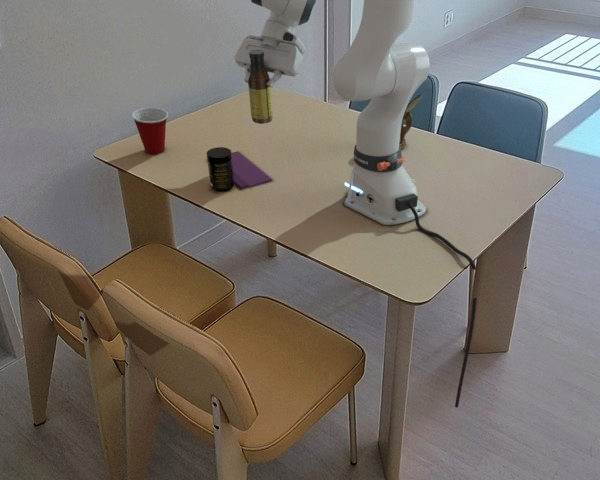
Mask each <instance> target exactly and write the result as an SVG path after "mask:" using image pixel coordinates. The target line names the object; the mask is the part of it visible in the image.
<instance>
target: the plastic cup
mask: <svg viewBox="0 0 600 480" xmlns="http://www.w3.org/2000/svg"><path fill="white" fill-rule="evenodd" d="M131 117H132V119H133V121H134V123H135V126H136V129H137V131H138V134H139V137H140V141H141V143H142V145H143V148H144V151H145V152H146V154H149V155H159V154H162V153H164V151H165V148H166V129H167V128H166V127H167V120H168V118H169V113H168V111H167V110H165V109H163V108H159V107H141V108H138V109H136V110H134V111H133V112H132V113H131Z"/></svg>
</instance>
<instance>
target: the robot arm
mask: <svg viewBox="0 0 600 480" xmlns="http://www.w3.org/2000/svg"><path fill="white" fill-rule="evenodd" d="M250 2H251V3H253V4H254V5H257V6H260V7H262V8H265V9H267V10H269V12H270V13H269V16H268V18H267V19H266V20H265V22H264V25H263V28H262V31H261V32H260V35H252V34H250V35H248V36H246V37H244V38H243V39H242V42H241V43H240V45H239V47H238V49H237V50H236V53H235V55H234V62H235V63H236V64H237V65H238V67H240V68H244V72H245V76H244V79H243V80H244V82H245V83H246V84H248V80H249V76H250V70H251V61H250V57H249V52H250V51H252V50H263V51H264V65H265V67H264V68H265V69H266V71H267V72H268V73H271V74H274V75H272V77H271V78H269V79H268V80H267V83H266V85H267V86H268V87H271V89H273V88H274V87H275V85H276V83H277V82H278V81H279V80H281V79H282V76H288V77H293V78H294V77H296V76H298V75H299V73H300V71H301V68H302V65H303V61H304V54H305V52H306V47H305V45H304V44H303V42H302V41H301V39H300V38H299V37H298V36H297V35H296V29H297V27H299V26H301V25H304V24H306V23H308V22H309V20H310V18H311V14H312V12H313V8H314V6H315V5H316V3H317V0H250ZM414 3H415V0H363V5H362V14H361V20H360V23H359V27H358V30H357V33H356V35H355V37H354V39H353V41H352V42H351V44H350V46H349V48H348V49H347V51H346V52H345V53H344V54H343V55H342V57H340V58H339V59H338V61H337V62H336V63H335V65H334V67H333V70H332V77H331V78H332V86H333V88H334V91H335V92H336V94H337V95H338V97H340V98H341V99H342V100H343V101H346V102H364V101H368V100H370V101H369V103H368V104H367V105H366V106H365V108H364V109H362V110H361V111H360V113H359V115H357V119H356V135H355V141H356V142H355V145H354V147H353V162H354V165H353V167H352V171H351V173H350V177H349V183H347V182H344V186H346V187H348V192H347V197H346V198H345V199H344V206H346V207H348V208H350V209H352V210H353V211H355V212H357V213H360V214H361V215H363V216H366V217H367V218H369V219H371V220H373V221H375V222H377V223H379V224H381V225H384V226H392V225H393V226H394V225H399V224H405V223H407V222H410V221H413V220H415V225H416V227H417V229H418V230H420V231H421V232H422V233H424V234H426V235H429V236H432V237H435V238H437V239H438V240H440V241H441V242H442V243H444V244H445V245H446V246H447V247H449V248H450V249H451V250H452V251H453V252H455V253H456V254H457V255H459V256H462V257H463V258H465V259H466V260H467V261H468V263H469V264H470V266H471V269H472V270H473V271H476V270H477V266H476V264H475V262H474V260H473V258H471V256H469V255H468V254H467V253H465V252H464V251H462V250H460V249H458V248H457V247H456V246H454V244H452V243H451V242H450V241H449V240H447V239H446V237H445V238H444V236H442V235H441V234H439V233H437V232H434V231H431V230H428V229H425V228H424V227H422V225H421V223H420V217H421V216H423V215H425V213H426V212H427V207H426V206H425V205H424V204H423V202H421V201H420V200H419V196H418V189H417V186H416V185H417V183H416V179H414V178H411V177H410V175H409V174H408V172H407V170H406V168H405V167H404V165H403V163H404V162H406V160H405V159H406V156H404V157H403V156H402V149H401V150H400V147H399V141H400V132H401V125H402V119H403V116H404V113H405V110H406V108H407V106H408V104H409V103H410V102H411V100H412V97H413V96H414V94H415V93H416V92H417V90H418V89H419V87H420V86H421V85H422V84H423V83H424V82H426V80H427V78H428V76H429V73H430V70H431V69H430V68H431V62H430V57H429V55H428V52H427V50H426V49H425V48H424V46H422V45H420V44H418V43H403V42H402V43H397V42H396V41H398V39H399V38H400V37H401V36H402V35H403V34H404V33H405V32H406V31H407V30H408V28H409V27H410V25H411V23H412V18H413V12H414V11H413V10H414ZM395 43H396V44H395ZM477 298H478V297H474V298H472V302H471V303H472V304H471V315H470V322H469V329H468V334H467V335H468V336H467V341H466V346H465V351H464V357H463V361H462V366H461V371H460V377H459V381H458V386H457V392H456V398H455V403H454V407H455V408H459V404H460V398H461V393H462V388H463V383H464V377H465V373H466V369H467V368H466V367H467V364H468V358H469V353H470V349H471V343H472V338H473V333H474V326H475V321H476V320H475V319H476V311H477Z"/></svg>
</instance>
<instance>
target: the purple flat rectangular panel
mask: <svg viewBox="0 0 600 480" xmlns="http://www.w3.org/2000/svg"><path fill="white" fill-rule="evenodd" d="M231 153H232V166H233V177H234V186H236V187H237V188H238V189H239V190H243V189H248V188H251V187H254V186H258V185H263V184H266V183H269V182H273V179H272V178H271V177H270V176H269V175H268V174H266V173H265V172H264V171H263V170H261V169H260V168H259V166H257V165H255V164H254V163H253V162H252V161H250V160H249V159H248V158H247V157H246V156H244V155H243V154H242V153H241V152H239V151H235V152H231Z"/></svg>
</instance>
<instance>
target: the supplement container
mask: <svg viewBox="0 0 600 480" xmlns="http://www.w3.org/2000/svg"><path fill="white" fill-rule="evenodd" d="M232 153H233V152H232V150H231V149H230V148H228V147H224V146H219V147H213V148H210V149H208V150H207V151H206V160H207V169H208V177H209V186H210V189H212V191H214V192H217V193H224V192H225V193H226V192H228V191H231V190H232V189H233V188H234V186H235V184H234V177H233V166H232Z"/></svg>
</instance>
